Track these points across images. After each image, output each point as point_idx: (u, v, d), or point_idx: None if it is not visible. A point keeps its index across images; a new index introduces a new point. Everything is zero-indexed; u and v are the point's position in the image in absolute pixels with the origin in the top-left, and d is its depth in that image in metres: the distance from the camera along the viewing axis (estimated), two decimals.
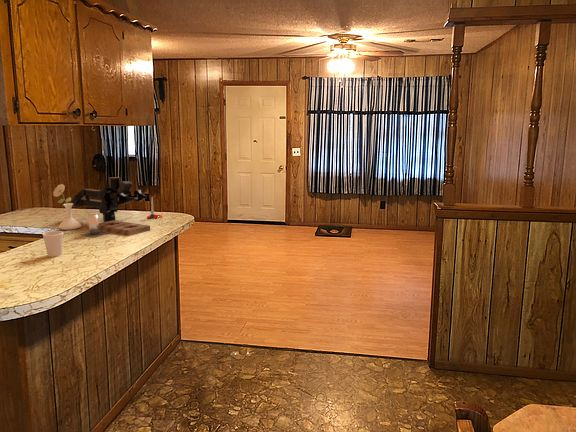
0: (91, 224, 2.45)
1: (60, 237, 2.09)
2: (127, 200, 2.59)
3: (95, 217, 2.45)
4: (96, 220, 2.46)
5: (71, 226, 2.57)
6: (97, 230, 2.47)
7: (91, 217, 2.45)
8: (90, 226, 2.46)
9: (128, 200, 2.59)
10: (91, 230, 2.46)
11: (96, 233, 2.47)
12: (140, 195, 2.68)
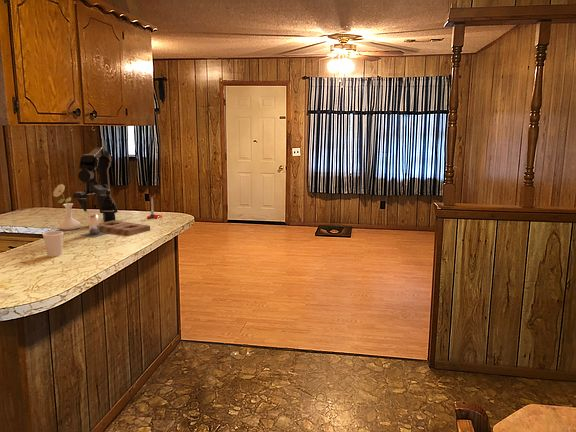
0: (91, 224, 2.45)
1: (60, 237, 2.09)
2: (82, 205, 2.41)
3: (95, 217, 2.45)
4: (96, 220, 2.46)
5: (71, 226, 2.57)
6: (97, 230, 2.47)
7: (91, 217, 2.45)
8: (90, 226, 2.46)
9: (82, 206, 2.41)
10: (91, 230, 2.46)
11: (96, 233, 2.47)
12: (100, 200, 2.49)
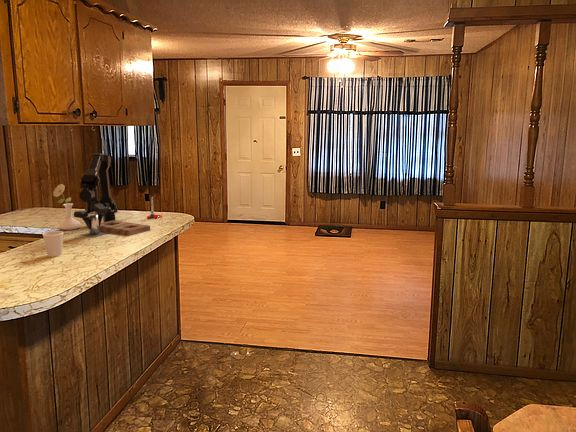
0: (91, 224, 2.45)
1: (60, 237, 2.09)
2: (86, 223, 2.45)
3: (95, 217, 2.45)
4: (96, 220, 2.46)
5: (71, 226, 2.57)
6: (97, 230, 2.47)
7: None
8: None
9: (87, 224, 2.45)
10: (91, 230, 2.46)
11: (96, 233, 2.47)
12: None
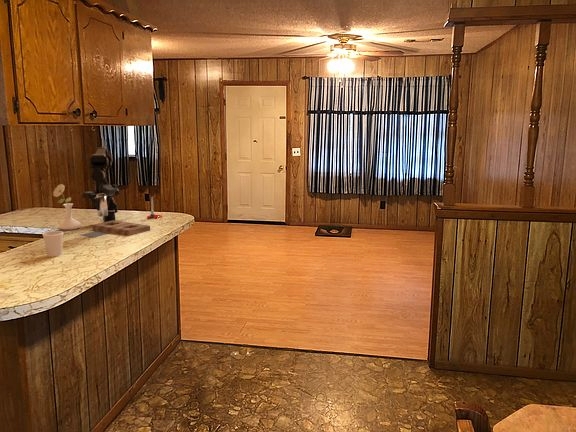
0: (99, 205, 2.45)
1: (60, 237, 2.09)
2: (95, 204, 2.45)
3: (103, 198, 2.45)
4: (104, 201, 2.46)
5: (71, 226, 2.57)
6: (105, 211, 2.47)
7: None
8: None
9: (95, 205, 2.45)
10: (99, 211, 2.46)
11: (104, 214, 2.47)
12: None
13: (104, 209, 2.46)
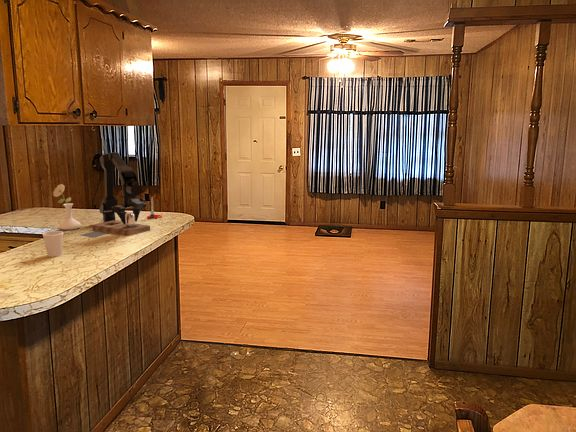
0: (128, 222, 2.52)
1: (60, 237, 2.09)
2: (121, 218, 2.50)
3: (132, 215, 2.52)
4: (133, 218, 2.53)
5: (71, 226, 2.57)
6: None
7: (128, 215, 2.51)
8: (127, 224, 2.52)
9: (121, 219, 2.50)
10: None
11: None
12: (136, 213, 2.57)
13: (132, 226, 2.53)
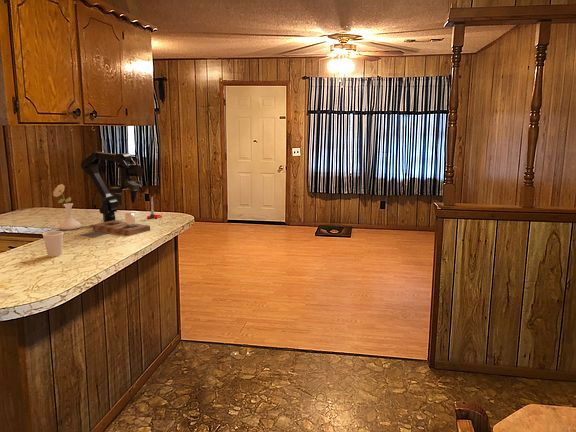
0: (128, 222, 2.52)
1: (60, 237, 2.09)
2: (117, 199, 2.65)
3: (132, 215, 2.52)
4: (133, 218, 2.53)
5: (71, 226, 2.57)
6: None
7: (128, 215, 2.51)
8: (127, 224, 2.52)
9: (118, 200, 2.66)
10: None
11: None
12: (133, 195, 2.74)
13: (132, 226, 2.53)
